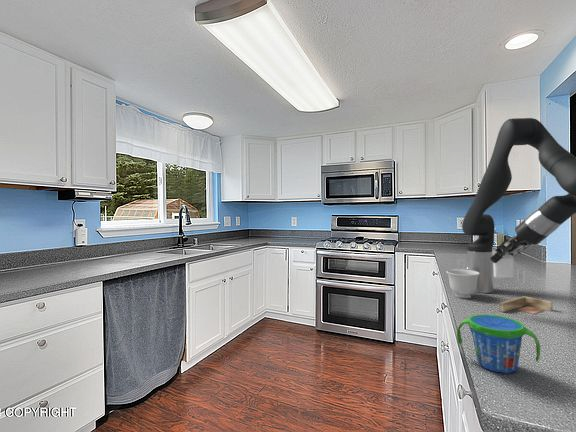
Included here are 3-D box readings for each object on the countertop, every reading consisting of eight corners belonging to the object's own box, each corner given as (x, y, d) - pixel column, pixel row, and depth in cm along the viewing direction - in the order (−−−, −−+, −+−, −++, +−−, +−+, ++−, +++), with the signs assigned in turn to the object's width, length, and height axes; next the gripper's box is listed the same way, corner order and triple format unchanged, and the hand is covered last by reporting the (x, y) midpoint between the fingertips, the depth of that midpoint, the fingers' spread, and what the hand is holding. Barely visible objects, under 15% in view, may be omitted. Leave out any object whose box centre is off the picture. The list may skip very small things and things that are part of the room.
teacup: (467, 290, 132) (467, 267, 132) (486, 300, 117) (486, 274, 117) (439, 290, 133) (438, 268, 133) (454, 300, 119) (453, 275, 118)
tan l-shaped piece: (499, 311, 105) (499, 302, 105) (523, 304, 112) (523, 296, 112) (528, 319, 97) (528, 309, 97) (552, 310, 104) (552, 301, 104)
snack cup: (451, 362, 71) (450, 319, 71) (466, 347, 78) (465, 308, 78) (536, 389, 60) (535, 338, 59) (544, 369, 67) (543, 324, 67)
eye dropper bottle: (512, 280, 99) (511, 244, 99) (492, 278, 103) (491, 243, 103) (515, 278, 102) (514, 242, 102) (495, 276, 106) (494, 242, 106)
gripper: (539, 217, 99) (500, 250, 110) (515, 218, 93) (476, 253, 103) (560, 233, 94) (517, 266, 105) (535, 236, 88) (493, 271, 99)
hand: (497, 260), depth 104 cm, fingers closed on eye dropper bottle, 5 cm apart
